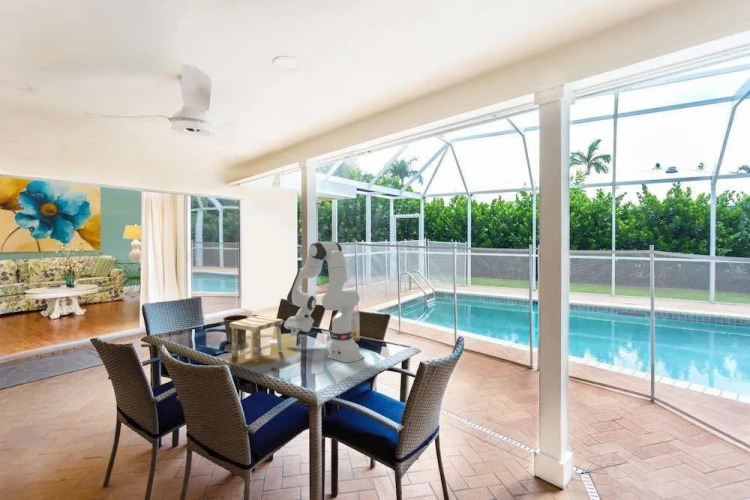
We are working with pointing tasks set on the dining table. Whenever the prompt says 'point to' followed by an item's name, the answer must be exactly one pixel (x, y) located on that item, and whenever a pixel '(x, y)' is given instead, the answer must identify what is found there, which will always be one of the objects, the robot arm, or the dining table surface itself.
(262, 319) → the stool
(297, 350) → the dining table surface
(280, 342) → the folding leg
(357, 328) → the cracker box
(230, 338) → the plant pot
